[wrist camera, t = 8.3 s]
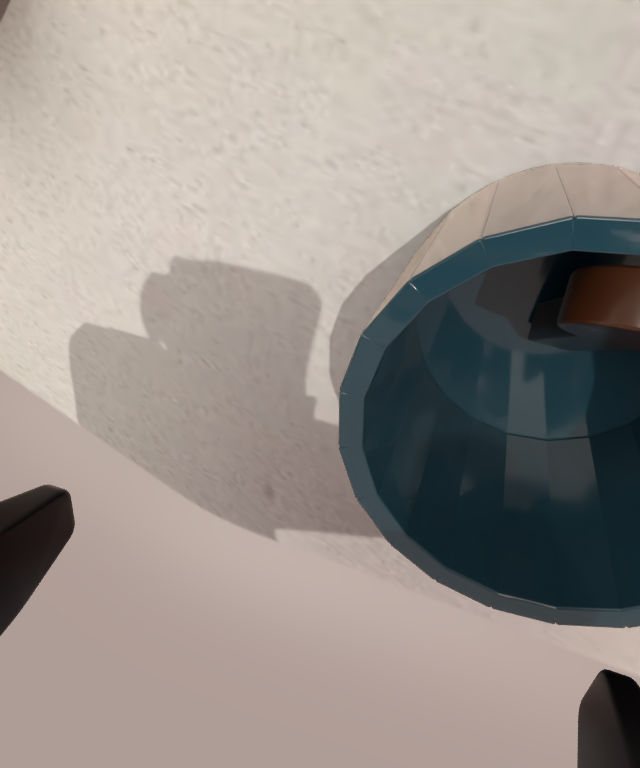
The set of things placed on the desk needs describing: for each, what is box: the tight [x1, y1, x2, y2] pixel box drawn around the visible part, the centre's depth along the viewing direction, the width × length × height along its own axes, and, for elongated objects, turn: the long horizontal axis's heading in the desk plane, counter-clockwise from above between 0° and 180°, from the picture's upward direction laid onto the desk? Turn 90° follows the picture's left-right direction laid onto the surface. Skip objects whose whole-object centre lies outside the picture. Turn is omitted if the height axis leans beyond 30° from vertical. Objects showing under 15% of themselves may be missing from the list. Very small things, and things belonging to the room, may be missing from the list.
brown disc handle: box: [528, 265, 640, 351], centre depth 13 cm, size 7×3×1 cm
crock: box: [339, 163, 640, 628], centre depth 14 cm, size 10×10×8 cm
